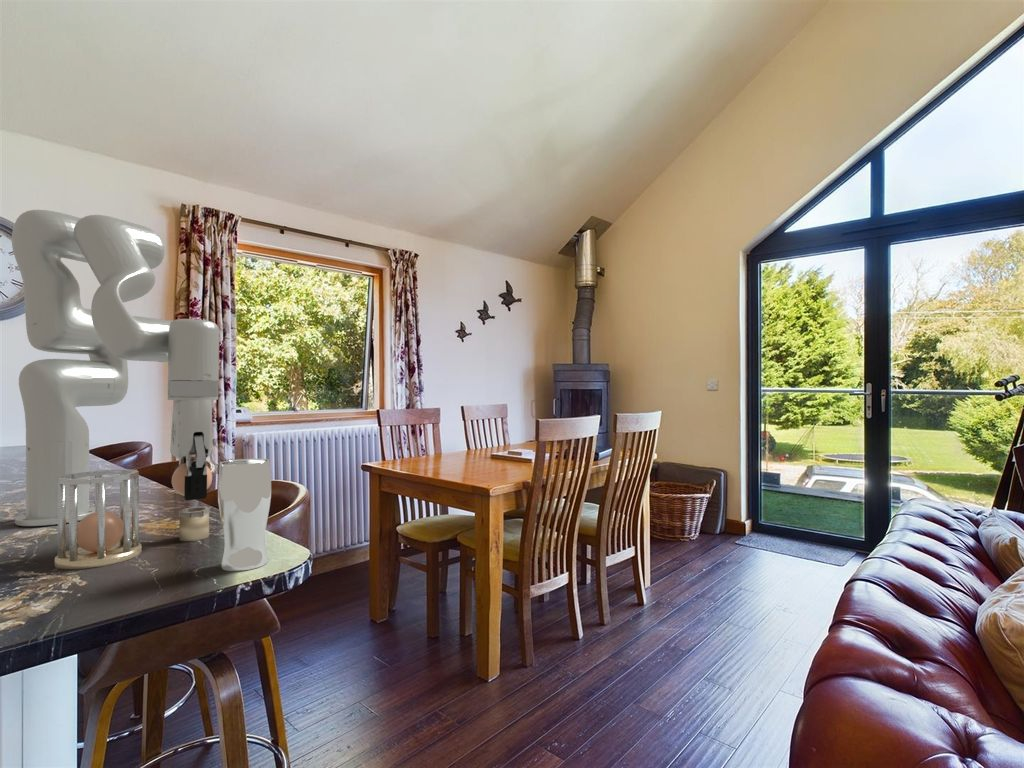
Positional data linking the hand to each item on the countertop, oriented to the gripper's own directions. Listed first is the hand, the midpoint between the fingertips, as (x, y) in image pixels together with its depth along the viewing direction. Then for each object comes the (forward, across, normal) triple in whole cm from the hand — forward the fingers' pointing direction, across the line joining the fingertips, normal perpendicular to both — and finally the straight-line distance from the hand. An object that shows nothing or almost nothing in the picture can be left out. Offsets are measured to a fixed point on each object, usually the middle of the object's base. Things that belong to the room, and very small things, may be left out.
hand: (192, 494), depth 91 cm
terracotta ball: (-3, 0, 0) cm, 3 cm away
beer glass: (+7, +22, +3) cm, 23 cm away
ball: (+3, +4, -13) cm, 14 cm away
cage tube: (+7, +4, -13) cm, 15 cm away
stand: (+7, +1, 0) cm, 7 cm away
